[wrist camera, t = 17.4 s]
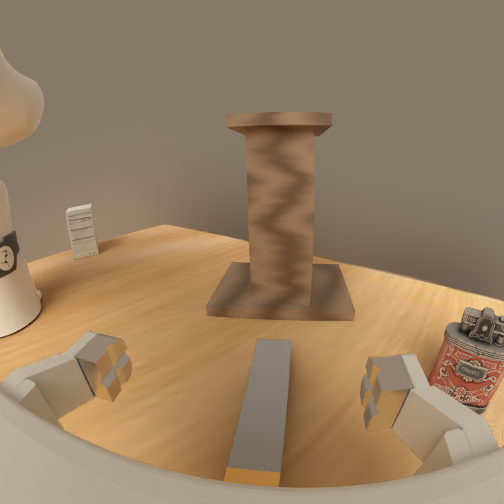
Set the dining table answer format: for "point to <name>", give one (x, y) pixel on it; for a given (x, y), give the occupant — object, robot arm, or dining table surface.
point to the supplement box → (82, 231)
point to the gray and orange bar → (262, 418)
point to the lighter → (471, 359)
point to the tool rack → (281, 227)
